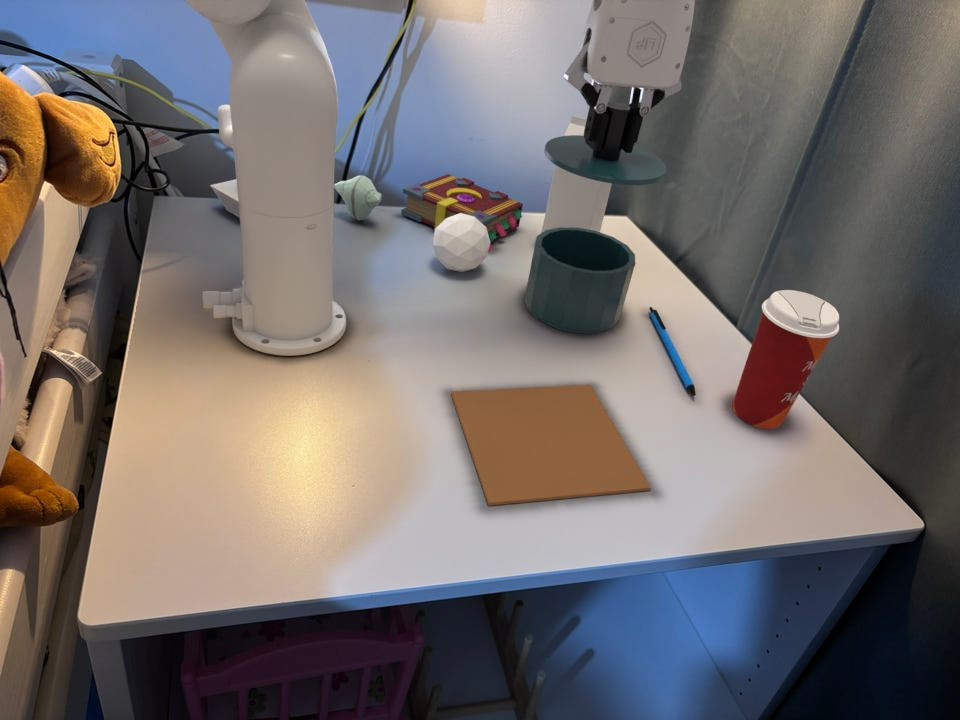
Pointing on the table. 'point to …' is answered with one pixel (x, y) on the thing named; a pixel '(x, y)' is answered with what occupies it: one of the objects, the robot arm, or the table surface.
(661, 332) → the pen
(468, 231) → the geometric ball
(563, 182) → the milk carton
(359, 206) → the pale green seashell
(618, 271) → the pot
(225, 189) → the figurine
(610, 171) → the lid
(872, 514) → the table surface
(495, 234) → the decorative book
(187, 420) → the table surface
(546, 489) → the mat
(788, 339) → the paper cup
